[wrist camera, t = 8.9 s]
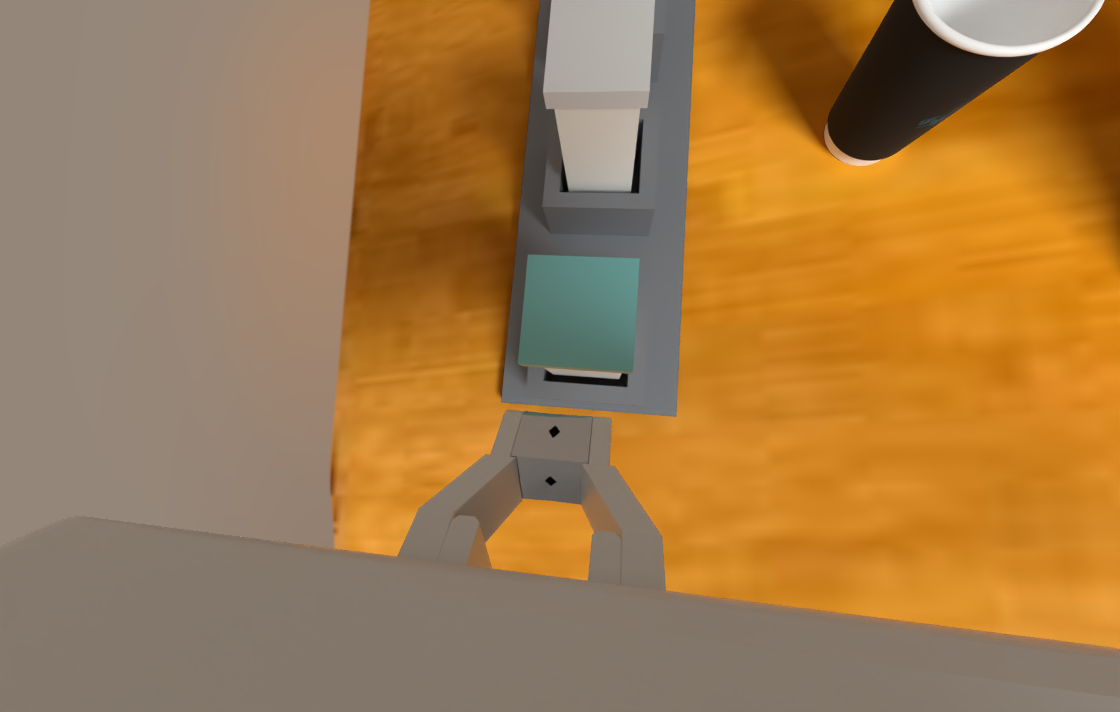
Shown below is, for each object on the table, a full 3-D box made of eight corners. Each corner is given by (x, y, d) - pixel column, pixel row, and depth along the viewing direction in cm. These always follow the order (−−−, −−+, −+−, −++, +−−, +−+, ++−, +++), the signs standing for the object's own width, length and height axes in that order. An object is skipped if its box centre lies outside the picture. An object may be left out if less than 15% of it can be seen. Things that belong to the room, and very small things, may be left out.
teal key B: (628, 310, 25) (639, 258, 16) (623, 384, 25) (632, 371, 16) (555, 307, 26) (527, 254, 17) (549, 379, 25) (517, 363, 16)
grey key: (639, 132, 27) (655, -6, 18) (635, 198, 26) (649, 90, 17) (569, 132, 27) (551, -1, 18) (564, 197, 27) (543, 92, 18)
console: (693, 4, 32) (708, -70, 27) (673, 416, 28) (688, 418, 23) (542, 10, 33) (530, -59, 28) (504, 402, 29) (484, 401, 25)
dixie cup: (902, 200, 28) (1088, 69, 17) (786, 169, 29) (892, 29, 18) (934, 98, 29) (1133, -89, 18) (819, 73, 30) (940, -118, 19)
